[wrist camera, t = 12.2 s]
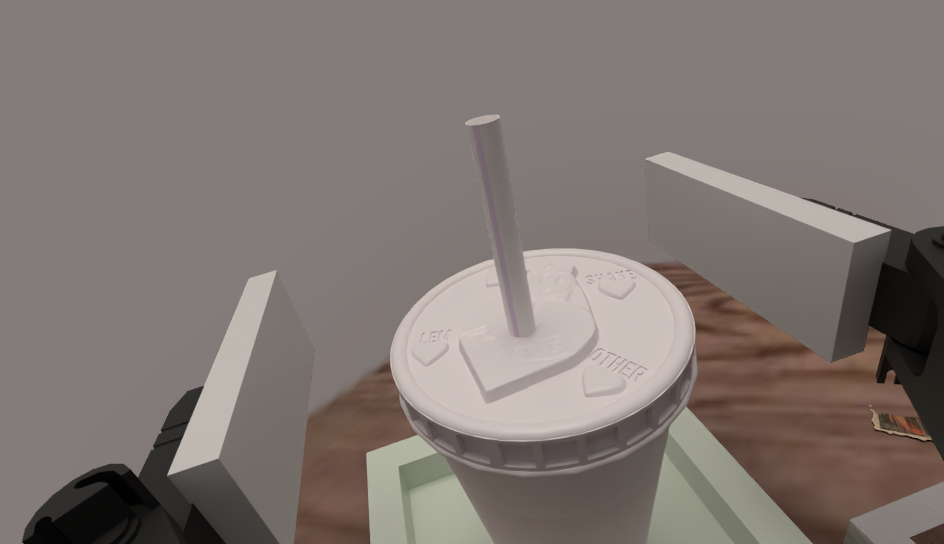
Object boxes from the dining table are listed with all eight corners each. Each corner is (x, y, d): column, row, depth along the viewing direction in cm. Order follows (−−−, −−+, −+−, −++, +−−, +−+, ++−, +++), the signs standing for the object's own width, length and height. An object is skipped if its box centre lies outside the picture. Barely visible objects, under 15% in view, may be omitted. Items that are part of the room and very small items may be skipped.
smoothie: (439, 633, 14) (219, 189, 7) (518, 456, 19) (432, 88, 12) (674, 752, 11) (684, 173, 4) (697, 505, 16) (721, 45, 9)
